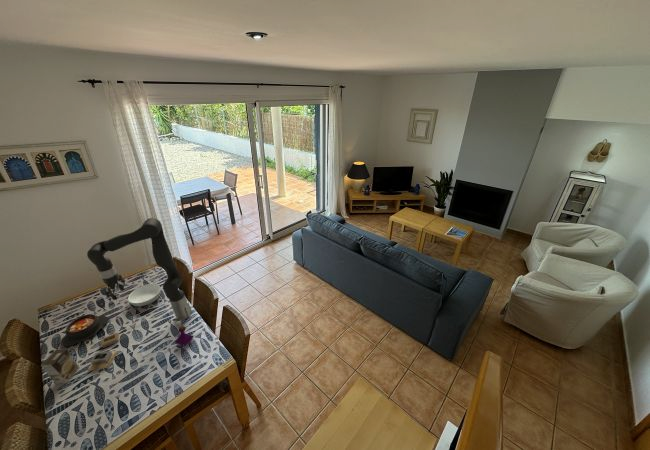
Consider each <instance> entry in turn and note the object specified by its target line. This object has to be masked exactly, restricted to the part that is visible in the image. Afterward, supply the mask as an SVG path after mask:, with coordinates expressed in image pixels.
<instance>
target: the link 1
mask: <svg viewBox="0 0 650 450" xmlns="http://www.w3.org/2000/svg"><path fill="white" fill-rule="evenodd" d="M118 333H119V332H114V333H112V334H109V335H108V336H104V337H102V338H101V340H100V341H101V342H100V343H101V346H102V348H107V347H108V346H111V345H113V344H116V343H119V342H120V334H118Z"/></svg>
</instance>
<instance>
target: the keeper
mask: <svg viewBox="0 0 650 450" xmlns="http://www.w3.org/2000/svg"><path fill="white" fill-rule="evenodd" d="M111 352H112V354H113V355H112V356H111V358H110V360H109V361H108V363H103V364H96V365H92V364H91V363H90V365H89V367H88V368H87V370H88V371H95V370H102V369H109V367H111V364H112V363H113V361H114V360H115V357H116V356H117V355H118V351H117V350H112V351H111ZM97 353H98V356H99V359H100V358H105V357H103V355H102V354H101V352H97Z"/></svg>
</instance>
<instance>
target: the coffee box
mask: <svg viewBox="0 0 650 450" xmlns="http://www.w3.org/2000/svg"><path fill="white" fill-rule="evenodd" d="M40 366H41V367H42V369H43V370H44V372H45V373H46V374H47V375H48V376H49V377H50V379H51V380H52V381H53V383H54V384H56V385H58V384H66V383H68V382H69V381H70V379H72V378H73V376H74V375H75V373H77V371H78V370H79V369H80V366H79V364H78V363H77V361H76V360H75V359H74V358H73V355H72V354H71V353H70V352H69V350H68V349H67V348H66V349H64V348H63V349H55V350H53V352H52V353H51V354H50V355H49V356H48V357H47V358H46V359H45V360H44V361H43V362H42V363H41V364H40Z"/></svg>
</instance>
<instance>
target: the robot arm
mask: <svg viewBox="0 0 650 450" xmlns="http://www.w3.org/2000/svg"><path fill="white" fill-rule="evenodd" d="M163 229H164V228H163V225H162V222H161V221H160V220H158V219H157V218H155V217H150V218H147V219H146V220H144V221H143V223H142V225H141V227H139V228H138V229H136V230H134V231H132V232H129V233H123V234H120V235H116V236H114V237H112V238H109V239H108V240H103V241H99V242H97V243H95V244H92V246H91V247H90V248H89V249H88V251H87V252H86V256H87V258H88V260H89V261H90V262H91V263H92V265H95V267H96V269H97V271H98V273H99V275H100V278H101V280H102V281H103V283H104V284H105V285H106V286H107V287H106V288H104V292H105V294H106V296H107V298H112V299H111V300H113V301H117V300H118V296H117V295H116V291H117V288H118V289H119V290H120V291H125V287H124V282H125V280H124V278H123V276H122V274H118V271H117V269H116V268H115V266H114V265H113V262H112V261H111V259H110V258H109V257H105V254H106V253H107V252H115V251H118V250H120V249H122V248H125V247H126V246H129V245H132V244H135V243H137V242H141V241H145V240H148V239H150V240H151V249H152V250H151V251H152V256H153V259H154V261H155V264H156V265H157V267H159V268H161V269H163V270H164V271H165V273H166V276H167V278H166V280H165V281H164V282H163V284H162V290H163V292H164V294H165V296H166V298H167V299H168V300H169V302H170V303H169V304H170V305H171V307H172V310H173V313H174V315H175V319H176V320H177V321H183V319H184V320H186V319H189V318H190V317H191V315H192V312H191V311H192V308H191V305H190V303H189V301H188V300H187V297H186V294H185V291H184V290H182V289H180V287H181V285H182V284H183V278H182V276H181V273H179V270H178V268H177V266H176V263H175V261H174V257H173V255H172V253H171V250H170V248H169V244H168V243H167V240H166V237H165V233H164V230H163ZM189 316H190V317H189ZM188 317H189V318H188Z"/></svg>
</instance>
